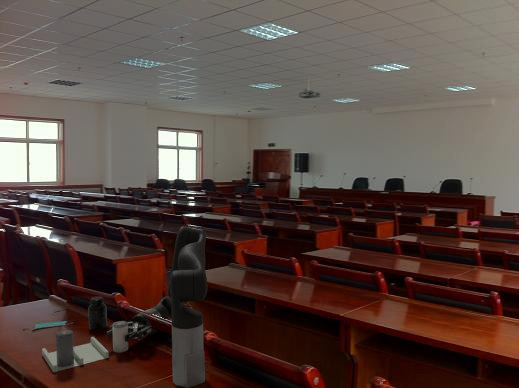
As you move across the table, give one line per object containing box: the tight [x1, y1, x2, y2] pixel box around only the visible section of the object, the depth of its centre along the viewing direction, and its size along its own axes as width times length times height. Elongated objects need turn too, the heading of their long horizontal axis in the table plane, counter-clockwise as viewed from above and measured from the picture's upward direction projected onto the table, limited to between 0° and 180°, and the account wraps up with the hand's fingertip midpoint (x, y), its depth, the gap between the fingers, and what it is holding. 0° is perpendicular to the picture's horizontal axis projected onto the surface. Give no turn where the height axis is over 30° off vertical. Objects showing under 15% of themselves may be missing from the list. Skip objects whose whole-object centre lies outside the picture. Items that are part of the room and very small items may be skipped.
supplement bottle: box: [87, 296, 108, 332], centre depth 178 cm, size 7×7×12 cm
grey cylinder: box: [55, 329, 74, 367], centre depth 144 cm, size 5×5×10 cm
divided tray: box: [41, 336, 110, 373], centre depth 150 cm, size 16×17×3 cm
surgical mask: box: [22, 307, 79, 332], centre depth 181 cm, size 21×4×10 cm
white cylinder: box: [111, 320, 129, 353], centre depth 155 cm, size 5×5×10 cm
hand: (116, 337), depth 153 cm, fingers open, 7 cm apart
